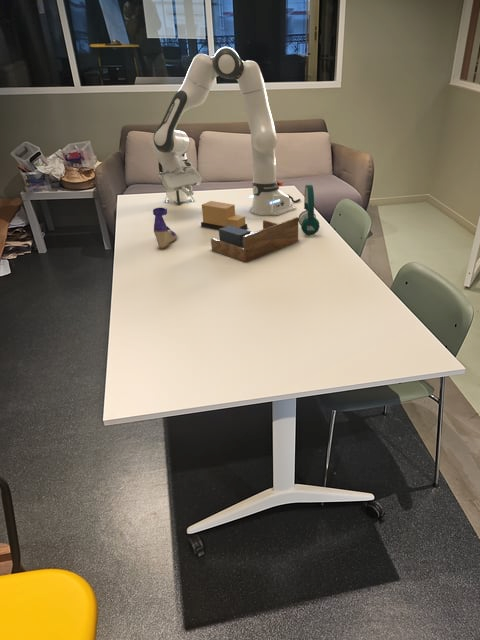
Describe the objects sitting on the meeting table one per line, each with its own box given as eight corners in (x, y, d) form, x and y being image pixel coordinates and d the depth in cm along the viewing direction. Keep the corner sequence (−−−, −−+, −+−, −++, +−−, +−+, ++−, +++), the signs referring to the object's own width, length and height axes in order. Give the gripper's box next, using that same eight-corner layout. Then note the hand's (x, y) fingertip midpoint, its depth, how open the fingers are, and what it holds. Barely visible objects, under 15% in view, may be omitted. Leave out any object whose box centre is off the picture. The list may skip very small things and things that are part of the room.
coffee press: (195, 196, 273) (189, 136, 255) (192, 205, 260) (185, 141, 242) (163, 197, 272) (154, 136, 255) (158, 205, 259) (149, 141, 242)
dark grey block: (218, 246, 209) (216, 228, 205) (230, 242, 214) (229, 224, 209) (252, 258, 199) (251, 239, 195) (264, 253, 203) (263, 234, 199)
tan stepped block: (201, 226, 231) (199, 204, 225) (211, 222, 237) (209, 200, 231) (237, 233, 223) (236, 210, 217) (247, 228, 229) (246, 206, 223)
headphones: (315, 226, 232) (316, 180, 220) (319, 237, 220) (321, 189, 208) (297, 226, 231) (298, 181, 220) (301, 237, 219) (301, 189, 208)
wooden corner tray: (211, 250, 206) (209, 226, 200) (264, 231, 226) (264, 208, 220) (245, 262, 195) (244, 236, 190) (298, 241, 215) (298, 217, 210)
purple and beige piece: (181, 234, 222) (176, 199, 214) (167, 250, 206) (162, 213, 198) (163, 233, 223) (158, 198, 214) (148, 249, 207) (142, 212, 198)
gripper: (159, 169, 226) (175, 195, 226) (194, 161, 238) (209, 186, 239) (154, 178, 231) (170, 203, 231) (188, 170, 243) (204, 194, 244)
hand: (190, 195), depth 235 cm, fingers closed
